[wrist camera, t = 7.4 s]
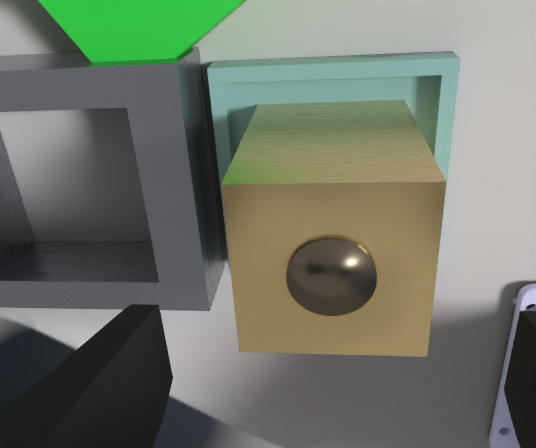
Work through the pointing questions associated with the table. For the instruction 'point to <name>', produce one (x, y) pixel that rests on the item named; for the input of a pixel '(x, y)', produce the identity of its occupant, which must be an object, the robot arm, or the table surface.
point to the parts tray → (335, 93)
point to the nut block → (334, 230)
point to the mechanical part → (137, 25)
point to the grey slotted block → (152, 183)
